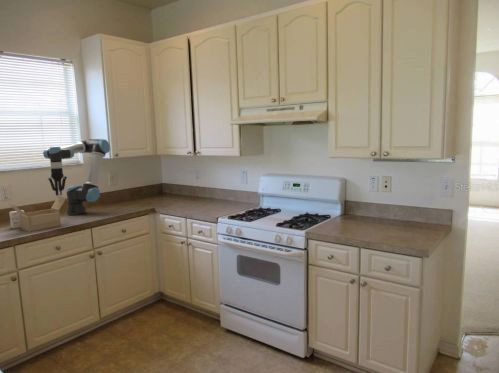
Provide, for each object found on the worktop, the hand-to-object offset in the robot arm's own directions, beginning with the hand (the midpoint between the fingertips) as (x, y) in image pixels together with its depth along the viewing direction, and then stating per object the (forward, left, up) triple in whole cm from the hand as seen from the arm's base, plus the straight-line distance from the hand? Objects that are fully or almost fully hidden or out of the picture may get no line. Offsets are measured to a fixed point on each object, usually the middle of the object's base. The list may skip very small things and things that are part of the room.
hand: (59, 199), depth 282 cm
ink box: (+24, -14, -18) cm, 33 cm away
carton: (+14, 0, -18) cm, 23 cm away
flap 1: (+25, 0, -7) cm, 26 cm away
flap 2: (+4, 0, -7) cm, 8 cm away
